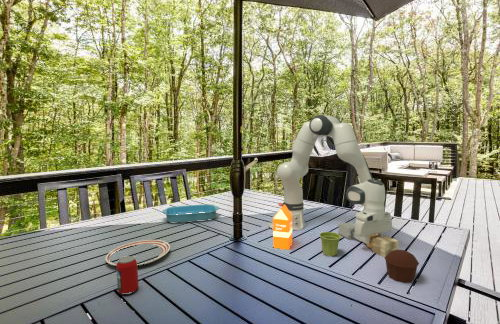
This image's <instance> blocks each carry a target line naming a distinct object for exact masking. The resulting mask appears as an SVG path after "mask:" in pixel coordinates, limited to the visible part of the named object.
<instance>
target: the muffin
mask: <svg viewBox="0 0 500 324" xmlns="http://www.w3.org/2000/svg"><path fill="white" fill-rule="evenodd" d="M383 258H384V260H385V265H386V272H387V275H388V278H389V279H391V280H393V281H394V282H398V283H402V284H407V283H409V284H410V283H412V282H414V281H415V278H416V275H417V274H416V273H417V269H418V266H419V264H420V262H419V261H418V259H417V258H416V256H415V255H414V254H413V253H411V252H409V251H407V250H404V249H398V250H394V251H391V252H389V253H388V254H387V255H386V256H385V257H383Z"/></svg>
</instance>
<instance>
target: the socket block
mask: <svg viewBox="0 0 500 324" xmlns="http://www.w3.org/2000/svg"><path fill="white" fill-rule="evenodd" d="M399 245H400V244H399V240H398V239H395V238H392V237H391V236H388V235H384V236H383V235H382V237H377V238H373V249H372V253H375V254H376V255H378V256H381V257H382V258H384V257H385V256H386V255H387V254H388V253H389V252H391V251H394V250H399Z"/></svg>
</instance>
